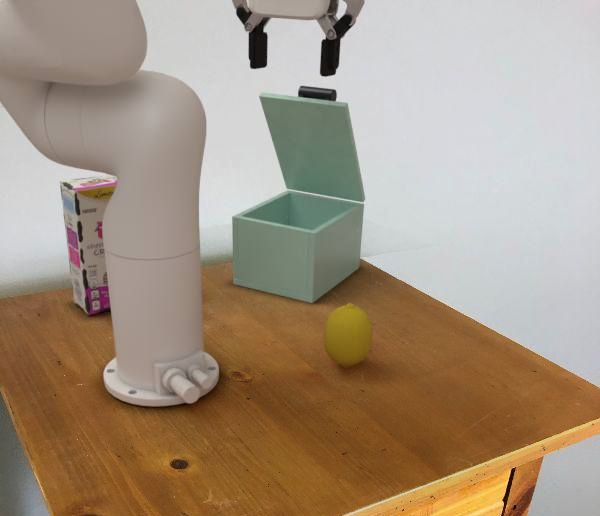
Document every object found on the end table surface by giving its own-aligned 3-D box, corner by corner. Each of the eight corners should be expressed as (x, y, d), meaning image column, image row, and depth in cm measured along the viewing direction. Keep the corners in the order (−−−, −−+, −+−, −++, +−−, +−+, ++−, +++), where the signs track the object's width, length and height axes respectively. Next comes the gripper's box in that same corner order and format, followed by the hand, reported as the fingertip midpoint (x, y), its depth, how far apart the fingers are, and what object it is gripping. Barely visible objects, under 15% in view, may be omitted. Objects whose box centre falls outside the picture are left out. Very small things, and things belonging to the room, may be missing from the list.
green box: (312, 303, 102) (315, 233, 97) (233, 284, 107) (231, 216, 102) (359, 267, 114) (364, 203, 109) (286, 252, 119) (287, 190, 114)
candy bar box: (89, 317, 96) (73, 190, 88) (73, 304, 100) (56, 180, 91) (166, 298, 102) (158, 177, 94) (149, 286, 106) (139, 168, 97)
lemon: (332, 352, 90) (335, 290, 86) (376, 362, 88) (381, 299, 84) (314, 372, 86) (317, 308, 82) (360, 383, 84) (365, 317, 80)
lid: (345, 106, 95) (360, 81, 97) (258, 95, 100) (275, 71, 102) (363, 202, 109) (376, 178, 111) (286, 189, 114) (300, 165, 116)
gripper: (214, -99, 84) (216, 67, 92) (355, -98, 77) (343, 81, 86) (248, -93, 90) (247, 63, 98) (382, -91, 83) (369, 75, 92)
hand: (292, 71), depth 92 cm, fingers open, 9 cm apart
